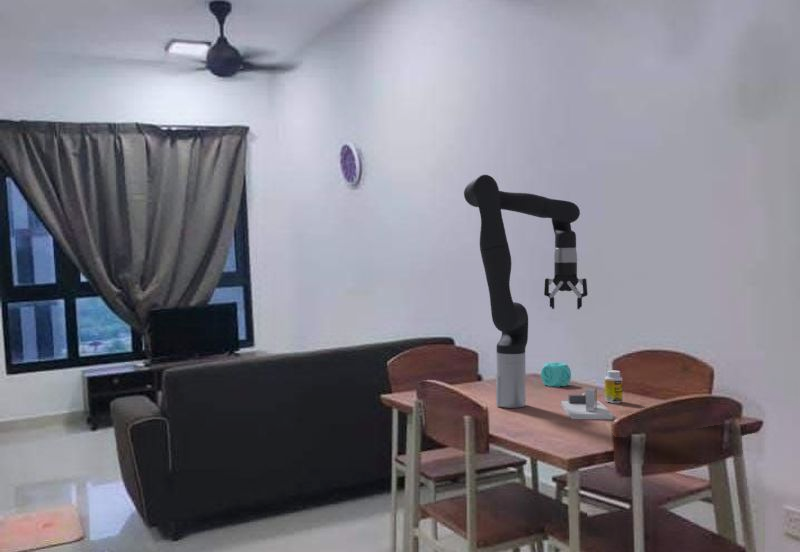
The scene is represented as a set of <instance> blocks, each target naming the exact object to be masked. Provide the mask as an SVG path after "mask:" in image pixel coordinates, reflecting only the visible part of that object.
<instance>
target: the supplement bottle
mask: <svg viewBox="0 0 800 552" xmlns="http://www.w3.org/2000/svg"><path fill="white" fill-rule="evenodd" d="M606 373H607V375H606V376H605V378H604V401H605V402H606V403H608V402H610V403H609V404H621V403H622V402H623V377H622V376H621V371H620V370H614V369H613V370H607V372H606ZM620 402H621V403H620Z"/></svg>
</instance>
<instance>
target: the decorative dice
mask: <svg viewBox="0 0 800 552" xmlns="http://www.w3.org/2000/svg"><path fill="white" fill-rule="evenodd" d="M540 376H541V380H542V383H543V384H544V385H545V386H546V385H547V386H546V387H550V386H554V387H553V388H561V387H560V386H565V387H567V386H568V385H569V383H570V382H571V378H572V372H571V368H570V366H568V364H567V363H565V362H546V363H544V365H542V367H541V371H540Z"/></svg>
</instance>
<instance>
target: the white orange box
mask: <svg viewBox="0 0 800 552" xmlns="http://www.w3.org/2000/svg"><path fill="white" fill-rule="evenodd" d="M597 391H598V388H597V386H587V388H586V389H585V394H586V411H594V410H595V408H597V401H598V399H597V398H598V397H597V396H598V393H597Z"/></svg>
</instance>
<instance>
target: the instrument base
mask: <svg viewBox="0 0 800 552" xmlns="http://www.w3.org/2000/svg"><path fill="white" fill-rule="evenodd" d="M567 395H568V397H567V399H568V400H561V401H560V404H561V407H562V409H563V410H564V411H565V412H566V413H567V415H568V416H569V418H570V419H571V420H614V414H613V412H612V411H610V410H609V409H608V408H607V407H606V406H605V405H604V404H603V403H601V401H600V400H597V408H595V410H594V411H586V392H583V393H582V394H567Z"/></svg>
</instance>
